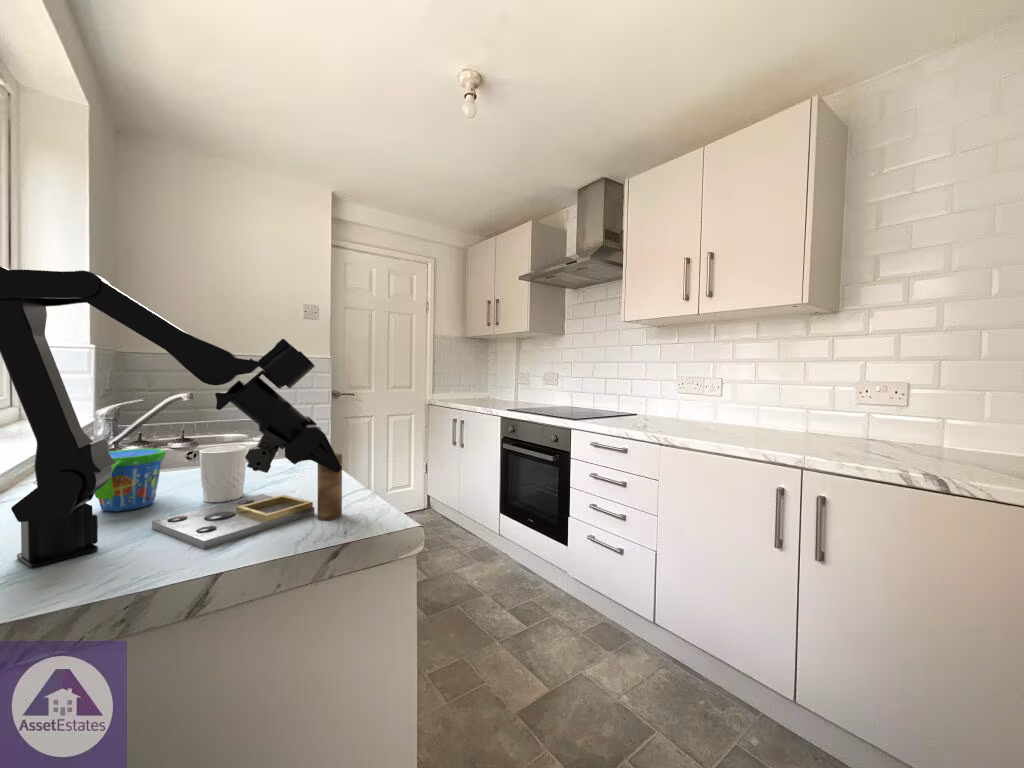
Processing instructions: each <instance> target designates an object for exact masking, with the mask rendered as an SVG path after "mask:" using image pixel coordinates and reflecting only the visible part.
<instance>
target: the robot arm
mask: <svg viewBox="0 0 1024 768" xmlns="http://www.w3.org/2000/svg"><path fill="white" fill-rule="evenodd" d="M76 304H88V305H90V306H91V307H93V308H95V309H96V310H99V311H100V312H101V313H103V314H105V315H106V316H108V317H110V318H111V319H113V320H115V321H116V322H118V323H120V324H121V325H123V326H125V327H126V328H127V329H130V330H131V331H133V332H135V333H137V334H138V335H140V336H142V337H143V338H145V339H147V340H148V341H149V342H151V343H153V344H155V345H157V346H158V347H160V348H161V349H164V350H165V351H166V352H168V354H169V355H171V356H172V357H173V358H174V359H175V360H176V362H178V363H179V364H180V365H181V366H182V367H183V368H185V369H186V370H187V371H188V372H189V373H191V374H192V375H193V376H194V377H196V378H197V379H198V380H199V381H200V382H202V383H203V384H207V385H208V386H209V385H210V386H221V385H226V384H228V383H229V384H230V382H233V381H234V380H235V379H236V378H238V376H240V375H246V374H252V373H254V372H255V371H256V370H257V369H259V368H261V369H262V370H261V371H259V372H258V373H256V375H255V376H253V377H252V378H251V379H250V380H248V381H247V382H246V383H245V382H243V381H242V380H240V379H239V380H237V381H236V382H235V383H234V384H232V385H231V386H230V387H228V389H226V390H225V391H221V392H220V391H217V392H215V395H214V396H215V398H216V405H215V409H216V410H218V411H220V410H222V409H224V408H225V407H226V406H227V405H229V403H230V404H231V405H233V406H234V407H236V408H237V410H239V411H240V412H241V413H243V414H244V415H245V416H246V417H248V418H249V419H250V420H251V421H253V423H255V424H256V425H258V426H257V427H258V431H259V432H260V433H262V435H261V437H260V439H259V440H258V441H257V444H256V446H255V447H249V449H248V451H247V452H246V456H245V459H246V462H247V463H246V468H250V469H252V471H254V472H257V471H258V472H263V473H265V474H268V472H269V471H270V470H271V467H272V465H271V464H272V462H273V460H274V458H275V456H276V455H277V453H278V452H279V449H280V450H284V457H285V458H286V460H288V461H289V462H290V463H291V464H293V465H297V464H298V463H300V462H301V463H302V462H304V461H312V462H314V463H317V465H318V464H320V465H322V466H324V467H326V468H328V469H330V470H332V471H334V472H336V473H338V472H339V471H340V470H341V469H342V470H343V466H342V467H341V465H340V463H339V461H338V459H337V457H336V455H335V451H334V449H333V448H332V445H331V443H330V441H329V439H328V437H327V435H326V434H325V432H324V431H323V430H322V429H321V427H320V426H317V423H316V421H315V420H313V419H312V418H311V417H310V416H306V415H303V413H302V412H301V411H299V410H298V409H297V408H295V407H294V406H293V405H292V404H291V403H290V402H289V401H288V400H287V399H285V398H284V397H282V395H280V393H278V392H277V391H276V390H274V389H273V388H272V386H270V385H269V384H268V383H266V382H265V381H264V380H263V379H262V378H261V376H262V375H263V376H264V377H265V378H266V379H267V380H268V381H269V382H270V383H272V385H274V386H275V387H276V388H278V389H279V390H281V389H282V388H283V387H285V386H286V387H287V388H288V389H292V387H293V386H295V385H296V384H297V383H298V382H299V381H301V379H303V378H304V377H305V376H306V375H307V374H308V373H309V372H311V371H312V370H313V369H314V368H315V367H316V366H315V364H314V363H313V362H312V361H311V360H310V359H309V358H308V356H306V355H305V354H304V353H303V352H302V351H300V350H298V349H296V348H295V347H294V346H293V345H292V344H290V343H289V342H288V341H287V340H286V339H285V338H281V339H279V341H278V342H276V344H275V345H274V347H273V348H272V349H271V350H269V351H268V352H267V353H265V354H264V355H263V356H262V357H261V358H259V359H258V360H254V359H253V358H249V359H244V358H238V357H237V356H236V355H235V354H233V352H230V351H228V350H227V349H225V348H221V347H220V346H217V345H215V344H212V343H210V342H209V341H206V340H204V339H201V338H198V337H196V336H194V335H193V334H189V333H187V332H186V331H184V330H183V329H181V328H179V327H177V325H174V324H173V323H171V322H170V321H168V320H166V319H165V318H164V317H161V316H160V315H159V314H157V313H156V312H154V311H152V310H151V309H149V308H148V307H146V306H144V305H143V304H141V303H139V302H138V301H137V300H135V299H133V298H132V297H130V296H129V295H127V294H125V293H124V292H122V291H121V290H119V289H118V288H116V287H114V286H112V285H111V284H110V282H109V281H108V280H106V279H105V278H103V277H101V276H99V275H97V274H96V273H93V272H91V271H88V270H74V271H73V270H72V271H71V270H70V271H69V270H67V271H58V270H40V269H39V270H38V269H10V268H6V267H4V266H1V265H0V355H1V357H2V360H3V363H4V365H5V367H6V370H7V372H8V375H9V378H10V379H11V382H12V384H13V385H12V386H13V387H14V389H15V392H16V394H17V396H18V399H19V402H20V404H21V407H22V409H23V411H24V414H25V416H26V419H27V421H28V423H29V426H30V428H31V430H32V432H33V435H34V437H35V441H36V449H35V450H36V451H35V457H34V464H33V465H34V472H35V479H36V488H35V489H33V490H31V491H30V492H29V493H28V494H26V495H25V496H24V497H23V498H22V499H20V500H19V501H18V502H16V503H15V504H14V505H12V507H11V509H10V510H11V512H12V513H13V515H14V517H15V519H16V521H17V522H18V523H20V545H21V549H20V550H21V552H19V553H17V554H16V558H17V559H18V560H20V561H21V562H22V563H24V564H25V565H27V566H28V567H29V568H38V567H41V566H44V565H48V564H52V563H55V562H56V563H57V562H61V561H63V560H66V559H71V558H75V557H78V556H82V555H86V554H89V553H93V552H97V551H98V550H99V546H97V545H96V544H97V543H98V540H99V539H98V537H99V536H98V532H99V531H98V530H99V529H98V525H99V524H98V515H97V514H94V513H93V505H91V504H88V502H90V501H91V500H93V497H94V496H95V491H97V490H98V489H99V488H101V487H102V486H103V485H105V484H106V483H107V481H108V480H109V479H110V477H111V474H112V468H111V465H113V464H115V463H116V461H115V460H113V459H112V458H111V456H110V454H109V452H110V451H109V448H108V442H107V439H106V438H105V437H103V438H100V439H98V440H95V441H93V440H92V439H91V438H90V436H88V435H87V434H86V433H85V431H84V430H83V429H82V427H81V424H80V421H79V420H78V419H79V418H78V417H77V414H76V412H75V411H76V410H75V409H74V406H73V404H72V401H71V399H70V396H69V393H68V391H67V389H66V386H65V383H64V381H63V378H62V376H61V373H60V370H59V369H58V366H57V363H56V361H55V359H54V355H53V353H52V350H51V347H50V346H49V343H48V341H47V338H46V324H47V317H48V314H47V313H48V312H47V307H61V306H69V305H76Z"/></svg>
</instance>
